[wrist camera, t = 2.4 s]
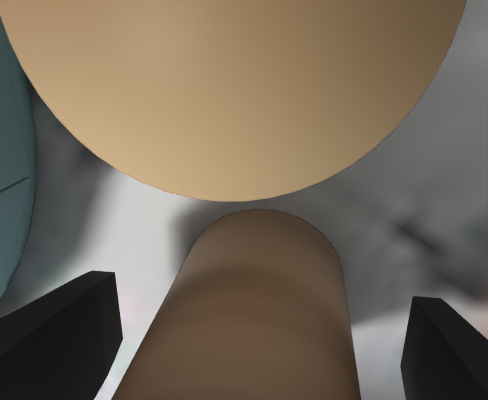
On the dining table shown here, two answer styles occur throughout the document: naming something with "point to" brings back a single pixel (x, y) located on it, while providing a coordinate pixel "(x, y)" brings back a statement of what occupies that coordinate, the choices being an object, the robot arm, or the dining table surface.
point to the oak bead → (230, 83)
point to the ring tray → (14, 160)
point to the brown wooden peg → (250, 319)
